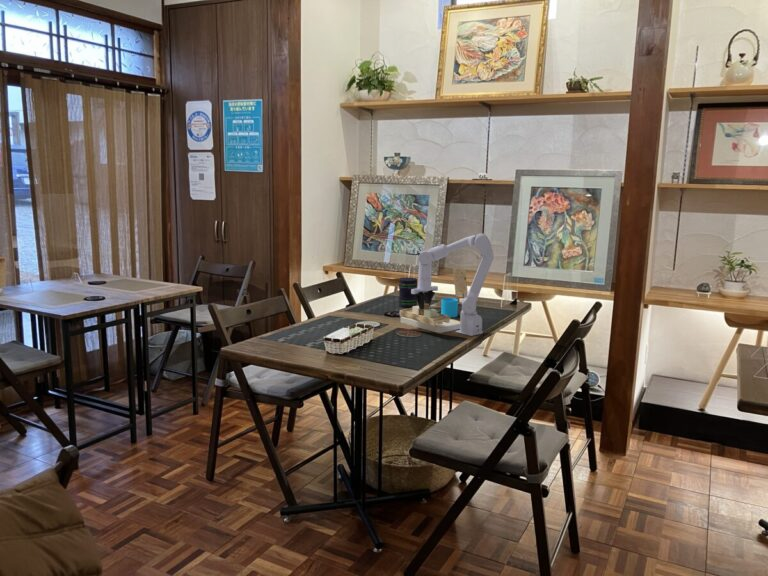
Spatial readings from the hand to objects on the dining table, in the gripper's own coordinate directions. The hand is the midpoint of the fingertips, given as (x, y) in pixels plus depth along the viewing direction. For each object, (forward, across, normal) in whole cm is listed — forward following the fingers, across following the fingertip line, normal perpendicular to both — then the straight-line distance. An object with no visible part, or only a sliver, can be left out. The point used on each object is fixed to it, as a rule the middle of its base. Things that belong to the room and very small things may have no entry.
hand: (424, 308), depth 277 cm
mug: (+11, -34, -16) cm, 38 cm away
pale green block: (+3, 0, +4) cm, 5 cm away
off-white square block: (+3, 0, -4) cm, 5 cm away
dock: (+10, -10, -6) cm, 16 cm away
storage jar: (+11, -30, -44) cm, 54 cm away
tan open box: (+5, 0, 0) cm, 5 cm away
